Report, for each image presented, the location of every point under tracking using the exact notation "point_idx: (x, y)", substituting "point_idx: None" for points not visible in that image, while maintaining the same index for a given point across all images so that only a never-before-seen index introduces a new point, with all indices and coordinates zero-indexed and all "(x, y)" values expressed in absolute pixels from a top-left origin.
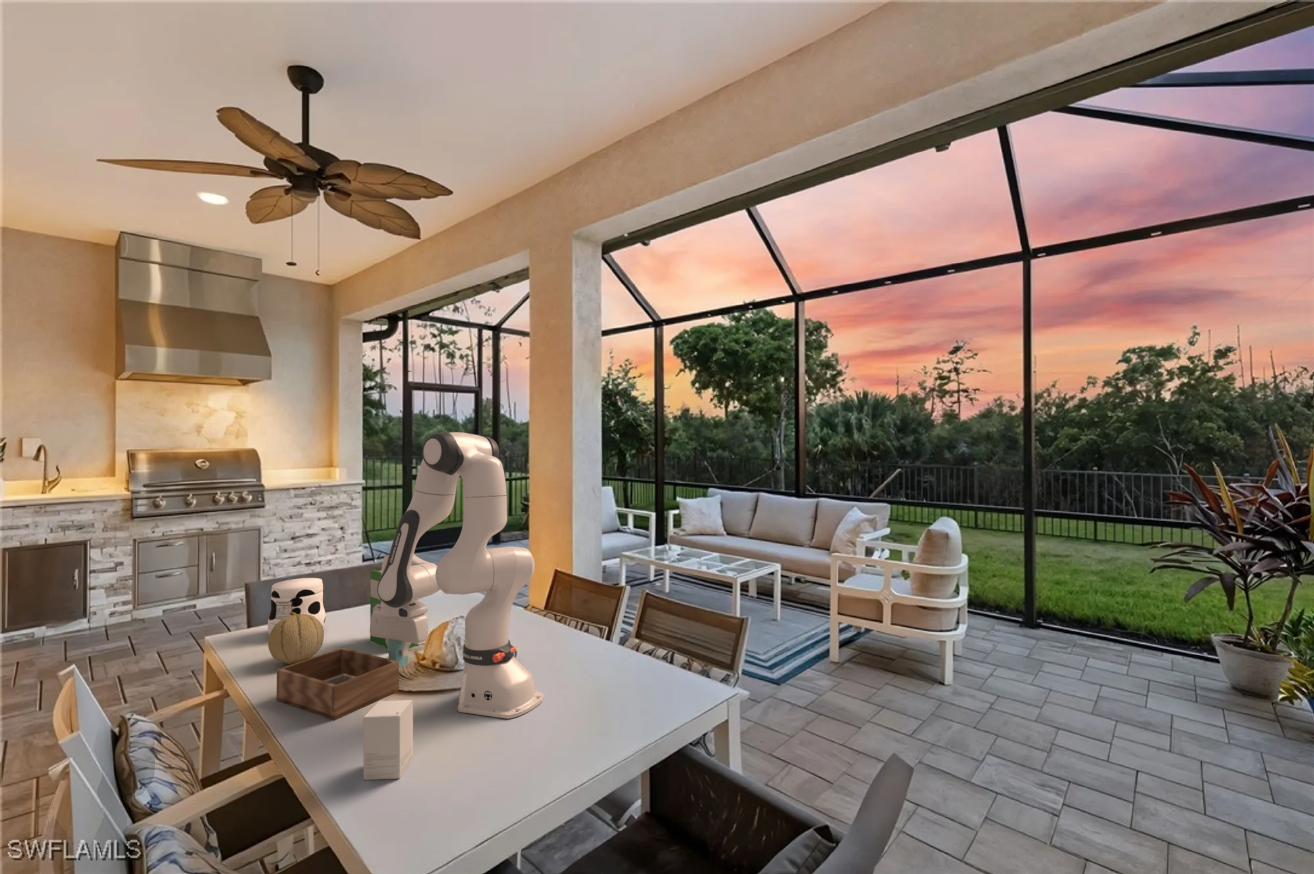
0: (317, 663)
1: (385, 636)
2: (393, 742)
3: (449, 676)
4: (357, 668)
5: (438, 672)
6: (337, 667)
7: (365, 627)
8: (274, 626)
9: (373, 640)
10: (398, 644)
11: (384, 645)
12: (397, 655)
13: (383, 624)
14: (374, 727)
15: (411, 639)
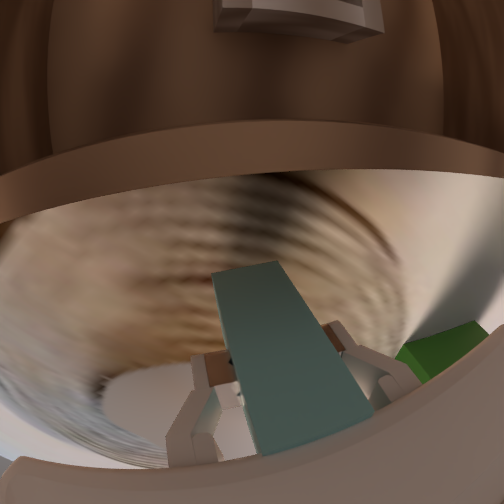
0: (501, 40)
1: (423, 403)
2: None
3: (66, 363)
4: (392, 126)
5: (126, 366)
6: (467, 124)
7: (491, 330)
8: None
9: (469, 324)
10: (249, 419)
11: (443, 333)
12: (227, 340)
13: (495, 458)
14: None
15: (52, 489)
